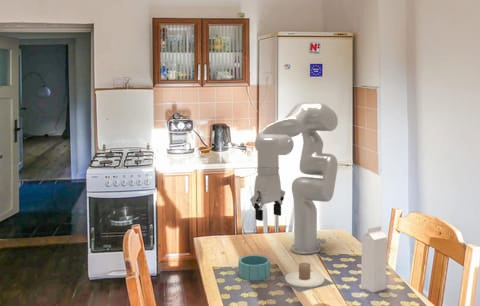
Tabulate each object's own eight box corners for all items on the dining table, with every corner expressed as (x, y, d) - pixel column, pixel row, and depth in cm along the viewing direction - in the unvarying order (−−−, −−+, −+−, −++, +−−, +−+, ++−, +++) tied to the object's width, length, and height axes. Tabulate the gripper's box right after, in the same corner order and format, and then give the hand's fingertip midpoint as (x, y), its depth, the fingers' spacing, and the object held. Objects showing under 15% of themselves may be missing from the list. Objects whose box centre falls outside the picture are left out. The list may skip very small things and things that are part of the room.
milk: (386, 290, 177) (388, 228, 174) (372, 294, 174) (374, 230, 171) (373, 284, 182) (375, 223, 179) (360, 287, 179) (361, 226, 176)
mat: (310, 271, 195) (310, 270, 195) (334, 284, 182) (334, 283, 182) (276, 278, 189) (276, 277, 189) (298, 293, 175) (298, 291, 175)
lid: (309, 270, 195) (309, 255, 194) (332, 283, 182) (332, 267, 181) (277, 277, 188) (277, 261, 188) (299, 291, 176) (299, 274, 175)
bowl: (260, 268, 200) (260, 253, 199) (275, 277, 189) (275, 262, 189) (233, 273, 194) (233, 258, 194) (247, 283, 184) (247, 267, 183)
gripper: (276, 167, 193) (276, 211, 196) (243, 173, 182) (244, 220, 184) (291, 169, 188) (291, 214, 190) (259, 175, 176) (259, 224, 178)
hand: (268, 217), depth 187 cm, fingers open, 9 cm apart
